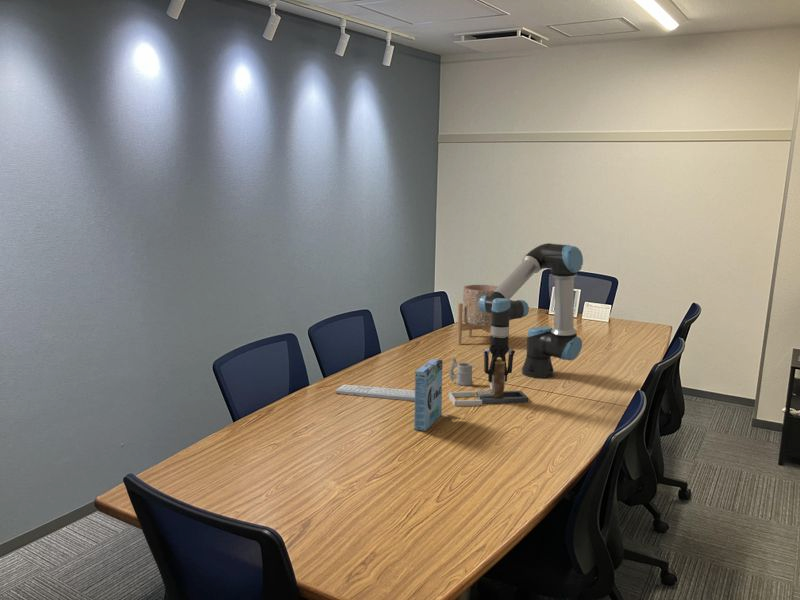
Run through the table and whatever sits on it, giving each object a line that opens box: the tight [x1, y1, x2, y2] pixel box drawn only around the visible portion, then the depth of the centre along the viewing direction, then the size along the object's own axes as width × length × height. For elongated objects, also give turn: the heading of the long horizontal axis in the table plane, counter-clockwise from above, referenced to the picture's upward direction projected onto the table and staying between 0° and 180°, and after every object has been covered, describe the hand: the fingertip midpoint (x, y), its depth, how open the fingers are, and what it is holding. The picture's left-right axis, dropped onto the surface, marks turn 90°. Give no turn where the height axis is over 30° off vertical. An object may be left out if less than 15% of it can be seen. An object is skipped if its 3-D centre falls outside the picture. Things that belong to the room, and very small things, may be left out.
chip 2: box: [484, 389, 494, 398], centre depth 283 cm, size 3×4×4 cm
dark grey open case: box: [475, 390, 529, 405], centre depth 284 cm, size 20×10×3 cm, turn 99°
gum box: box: [413, 358, 443, 432], centre depth 257 cm, size 20×5×23 cm, turn 158°
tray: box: [447, 390, 483, 407], centre depth 282 cm, size 12×12×3 cm
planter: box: [456, 284, 499, 346], centre depth 383 cm, size 22×23×32 cm
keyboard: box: [334, 384, 415, 402], centre depth 292 cm, size 44×12×2 cm, turn 76°
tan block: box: [490, 358, 505, 398], centre depth 282 cm, size 4×5×17 cm
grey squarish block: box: [476, 390, 487, 400], centre depth 283 cm, size 3×4×4 cm
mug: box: [448, 357, 474, 387], centre depth 306 cm, size 8×12×12 cm, turn 55°
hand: (497, 389), depth 283 cm, fingers closed on tan block, 4 cm apart
